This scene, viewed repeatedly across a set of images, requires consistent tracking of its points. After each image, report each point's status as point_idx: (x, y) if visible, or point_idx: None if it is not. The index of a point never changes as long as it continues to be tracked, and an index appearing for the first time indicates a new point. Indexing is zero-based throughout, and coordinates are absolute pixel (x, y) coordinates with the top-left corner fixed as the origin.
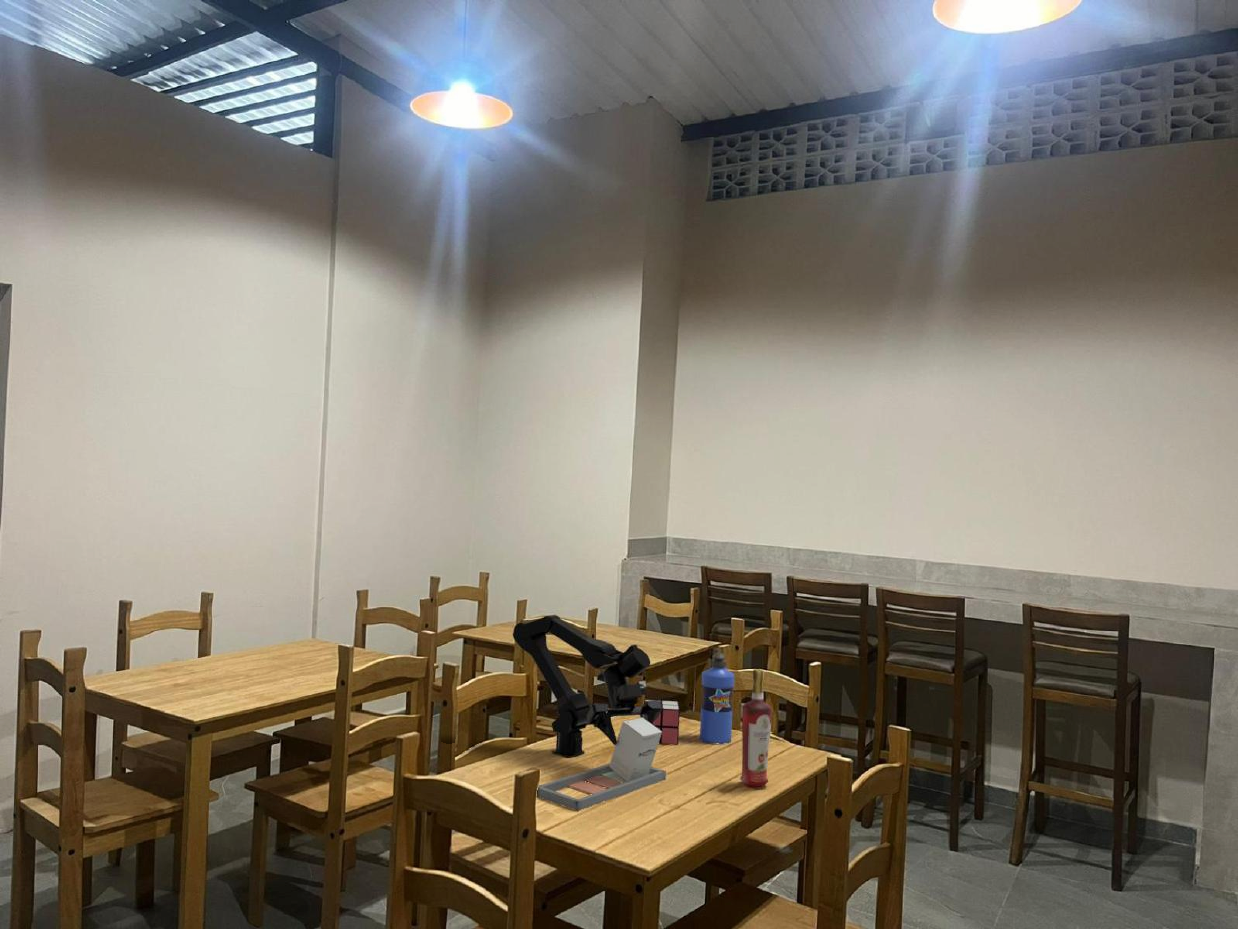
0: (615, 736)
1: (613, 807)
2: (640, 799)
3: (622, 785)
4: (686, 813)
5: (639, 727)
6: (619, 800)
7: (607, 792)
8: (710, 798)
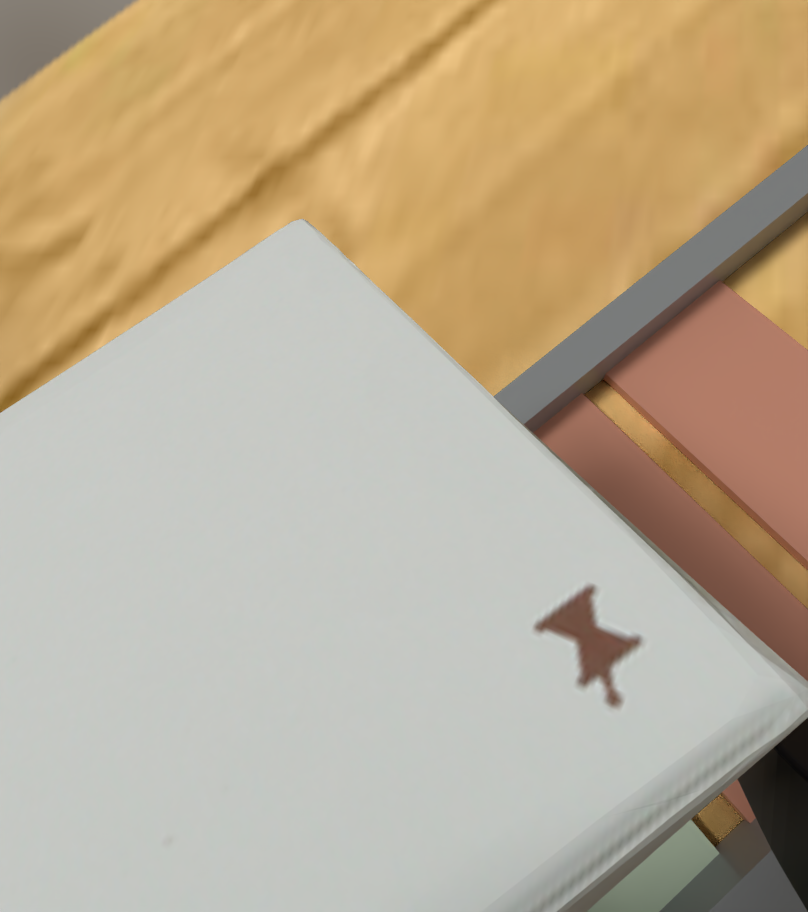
0: (798, 749)
1: (656, 164)
2: (457, 289)
3: (580, 346)
4: (252, 104)
5: (250, 475)
6: (603, 271)
7: (712, 222)
8: (19, 308)
